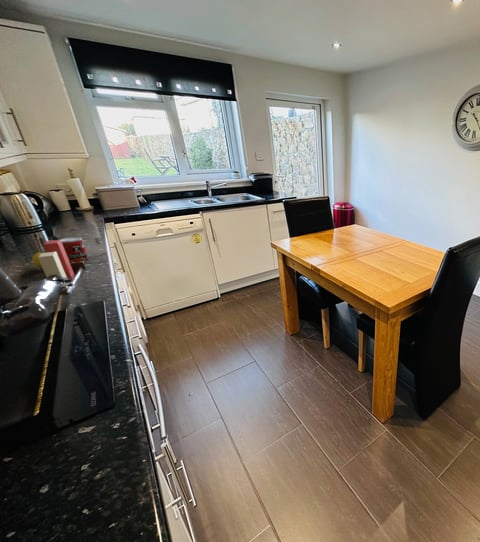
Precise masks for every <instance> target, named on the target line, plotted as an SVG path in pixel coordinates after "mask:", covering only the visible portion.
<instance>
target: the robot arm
mask: <svg viewBox="0 0 480 542" xmlns="http://www.w3.org/2000/svg"><path fill="white" fill-rule="evenodd" d="M72 281H73V280H71V279H69V278H64V277H59V276H58V275H50V276H49V277H45V278H44V279H37V280H35V281H32V282H29V283H26V284H23V285H21V286H19V287H18V285H16V283H15V282H14V281H13V280H12V279H11V278H10V277H9V276H8V274H6V272H5V271H4V270H3V269H2V268H1V267H0V335H1V336H4V337H16V336H19V335H22V334H24V333H28V332H29V331H32V330H36V329H38V328H40V327H43V326H45V325H47V324H49V323H50V322H51V321H52V319H53V314H52V311H51V307H52V306H53V305H54V304H55V303H56V301H57V300H58V298H59V296H61V295H60V292H61V289H63V288H64V286H74V285H73V282H72ZM16 300H17V301H16ZM14 301H16V302H15V304H14V306H13V308H11V309H10V310H9V309H8V308H7V305H8V304H11V302H14Z"/></svg>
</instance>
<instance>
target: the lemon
mask: <svg viewBox="0 0 480 542" xmlns="http://www.w3.org/2000/svg"><path fill="white" fill-rule="evenodd" d="M42 253H43V252H37V253H35V254H34V255H33V256H32V264H33V265H34V266H35V267H36V268H39V269H43V268H42V266H41V263H40V261H39V259H38V257H39V256H40V255H41V254H42Z"/></svg>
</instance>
